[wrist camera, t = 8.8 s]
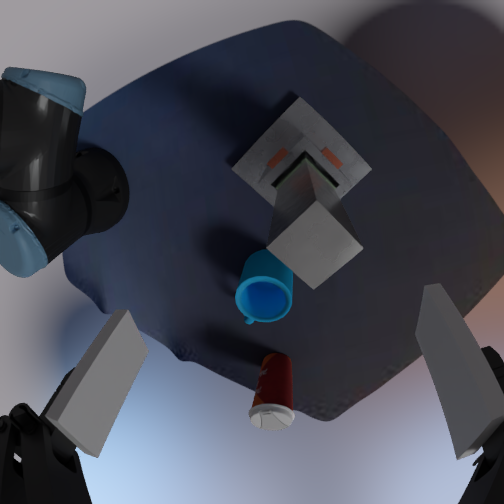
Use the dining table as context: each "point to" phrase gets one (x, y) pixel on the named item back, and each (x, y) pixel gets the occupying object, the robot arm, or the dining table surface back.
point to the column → (310, 224)
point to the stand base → (300, 152)
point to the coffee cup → (273, 394)
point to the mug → (264, 288)
